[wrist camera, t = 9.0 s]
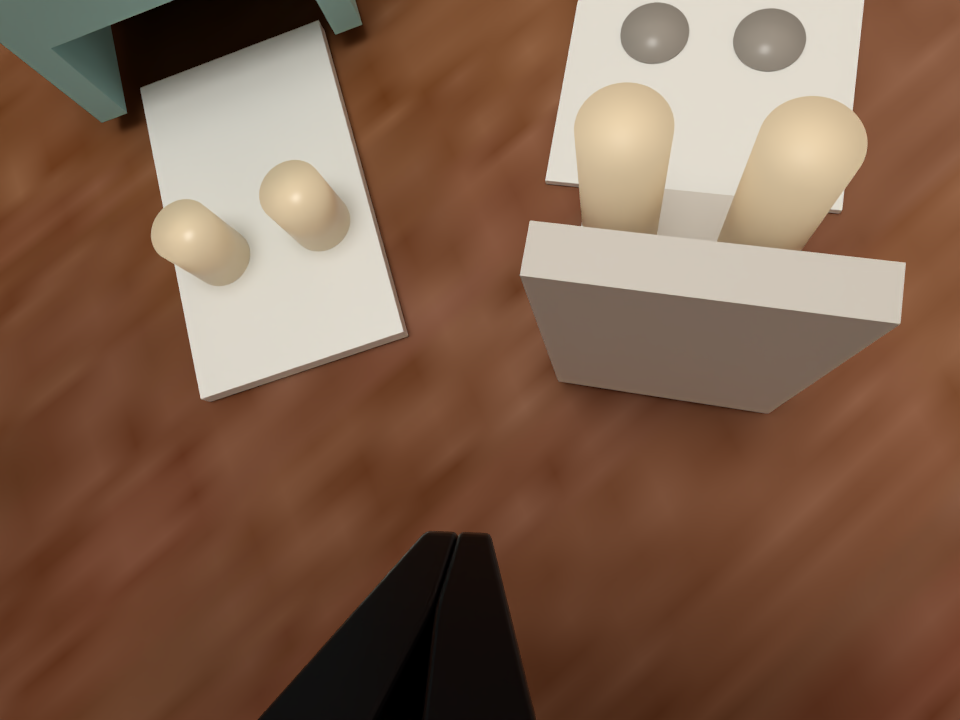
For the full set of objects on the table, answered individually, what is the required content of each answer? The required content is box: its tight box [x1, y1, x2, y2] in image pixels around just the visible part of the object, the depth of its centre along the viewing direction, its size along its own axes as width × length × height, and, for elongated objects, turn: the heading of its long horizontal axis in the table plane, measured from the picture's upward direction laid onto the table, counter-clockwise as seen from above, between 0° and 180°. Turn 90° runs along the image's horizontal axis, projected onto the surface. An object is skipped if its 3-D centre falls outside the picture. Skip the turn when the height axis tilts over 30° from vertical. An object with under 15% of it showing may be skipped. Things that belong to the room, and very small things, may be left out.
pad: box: [545, 0, 864, 214], centre depth 24 cm, size 9×9×1 cm
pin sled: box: [520, 82, 906, 414], centre depth 18 cm, size 6×6×10 cm
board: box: [140, 20, 408, 402], centre depth 24 cm, size 12×7×3 cm, turn 16°
